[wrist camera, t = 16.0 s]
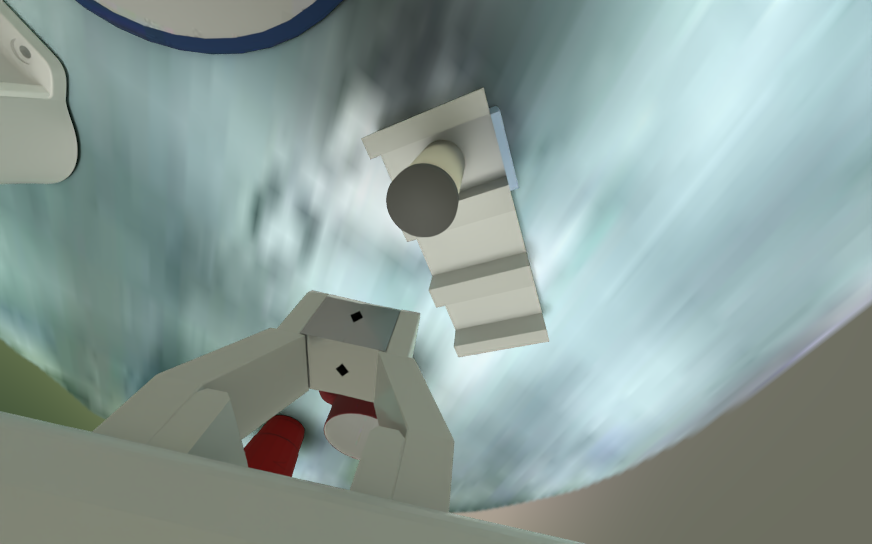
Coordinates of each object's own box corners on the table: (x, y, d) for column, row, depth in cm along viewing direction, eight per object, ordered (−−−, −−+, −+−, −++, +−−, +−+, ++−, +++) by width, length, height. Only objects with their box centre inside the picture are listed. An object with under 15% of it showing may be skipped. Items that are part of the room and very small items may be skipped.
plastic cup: (314, 454, 54) (274, 542, 43) (252, 432, 52) (196, 516, 42) (328, 420, 48) (287, 512, 38) (259, 394, 47) (197, 482, 37)
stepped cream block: (377, 131, 26) (353, 141, 21) (491, 83, 23) (493, 83, 19) (460, 331, 36) (457, 368, 31) (548, 313, 33) (559, 351, 28)
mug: (334, 369, 42) (297, 442, 33) (341, 325, 38) (300, 395, 29) (411, 391, 42) (393, 469, 34) (426, 350, 38) (410, 427, 29)
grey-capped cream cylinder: (411, 148, 25) (374, 181, 16) (457, 130, 24) (442, 156, 15) (429, 193, 27) (403, 245, 18) (472, 179, 26) (467, 226, 17)
